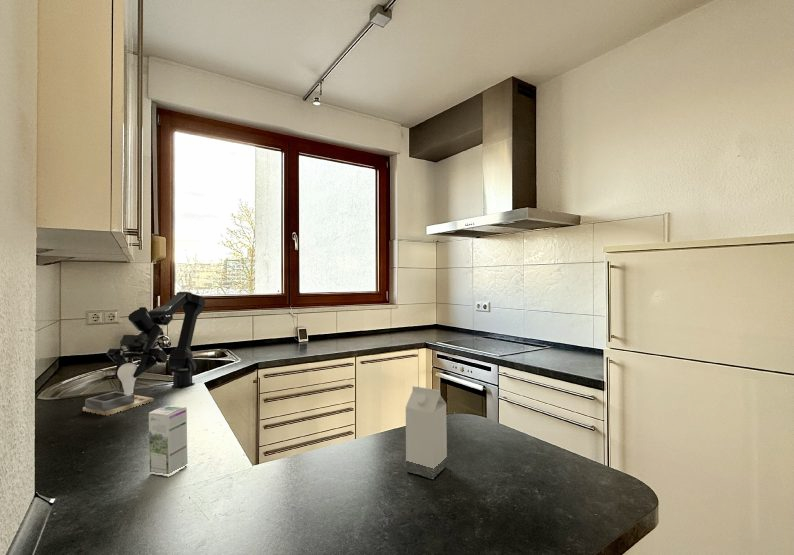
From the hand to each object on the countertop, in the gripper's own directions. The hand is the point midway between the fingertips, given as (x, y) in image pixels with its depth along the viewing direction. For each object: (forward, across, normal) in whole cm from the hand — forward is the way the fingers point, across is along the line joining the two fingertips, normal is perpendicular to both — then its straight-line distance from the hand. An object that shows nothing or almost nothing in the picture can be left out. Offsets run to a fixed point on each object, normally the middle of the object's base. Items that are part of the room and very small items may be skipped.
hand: (125, 377), depth 130 cm
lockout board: (+4, -8, +14) cm, 16 cm away
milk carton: (+34, +100, -17) cm, 107 cm away
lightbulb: (+4, 0, +6) cm, 7 cm away
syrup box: (+35, +39, -18) cm, 56 cm away
